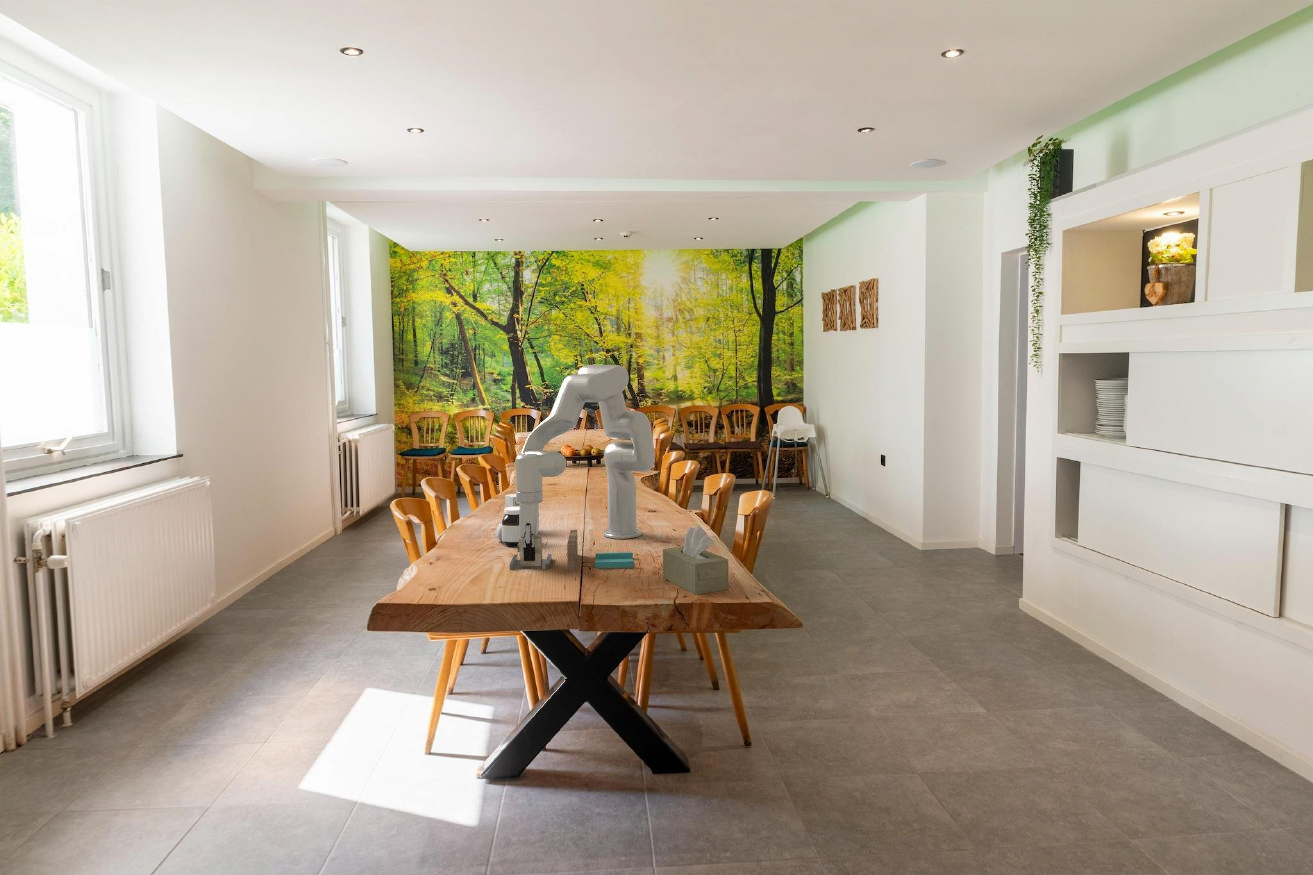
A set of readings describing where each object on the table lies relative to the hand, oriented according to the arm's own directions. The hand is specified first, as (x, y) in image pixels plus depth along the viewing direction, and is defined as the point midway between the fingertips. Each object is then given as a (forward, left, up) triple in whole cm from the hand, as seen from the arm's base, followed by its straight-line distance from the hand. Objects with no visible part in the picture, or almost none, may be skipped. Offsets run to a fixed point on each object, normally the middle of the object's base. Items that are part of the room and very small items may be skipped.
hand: (530, 556), depth 235 cm
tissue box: (+23, +45, -3) cm, 51 cm away
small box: (-46, -8, -3) cm, 47 cm away
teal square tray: (0, +24, -2) cm, 24 cm away
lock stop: (0, 0, -2) cm, 2 cm away
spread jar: (-29, -9, -3) cm, 30 cm away
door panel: (0, +12, -2) cm, 12 cm away
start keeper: (0, 0, -2) cm, 2 cm away
